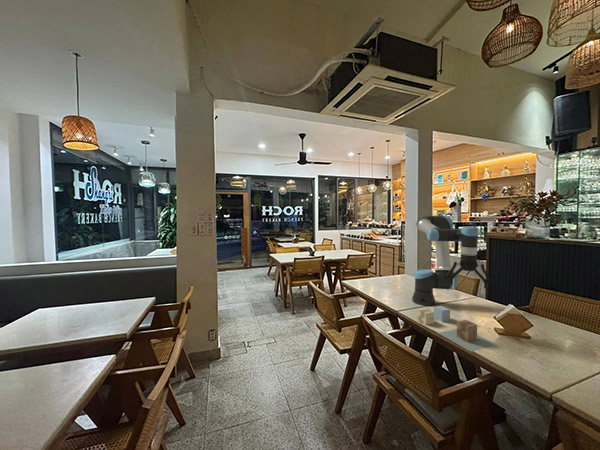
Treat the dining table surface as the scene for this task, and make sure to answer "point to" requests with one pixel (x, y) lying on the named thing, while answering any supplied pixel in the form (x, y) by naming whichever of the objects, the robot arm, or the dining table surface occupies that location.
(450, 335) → the build plate
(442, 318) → the blue block
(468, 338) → the walnut block
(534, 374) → the dining table surface
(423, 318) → the beech block
